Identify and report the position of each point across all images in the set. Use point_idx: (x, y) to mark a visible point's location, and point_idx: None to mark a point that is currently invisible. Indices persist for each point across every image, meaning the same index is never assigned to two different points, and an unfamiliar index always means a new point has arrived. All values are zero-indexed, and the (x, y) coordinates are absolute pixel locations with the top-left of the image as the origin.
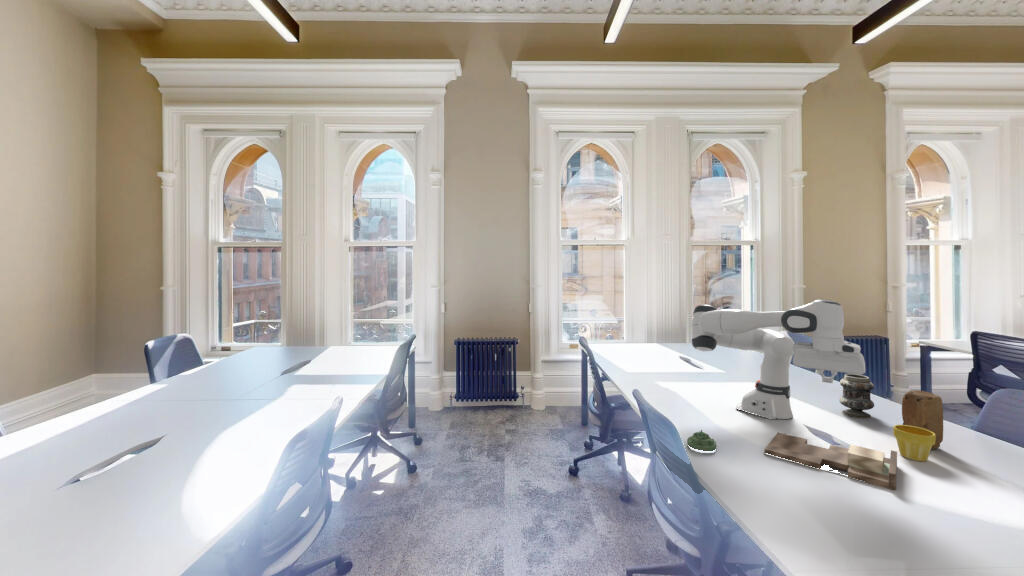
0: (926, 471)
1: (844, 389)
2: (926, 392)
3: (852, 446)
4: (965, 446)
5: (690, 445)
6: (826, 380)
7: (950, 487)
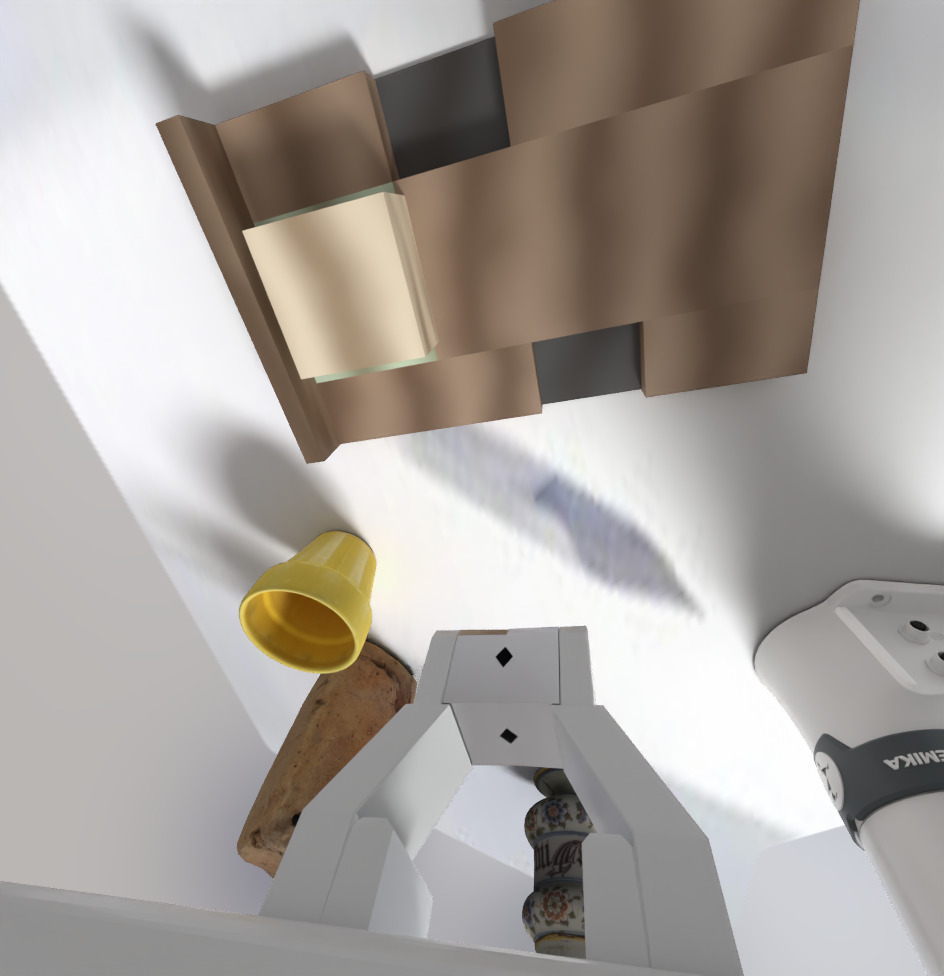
0: (273, 464)
1: None
2: None
3: (407, 331)
4: None
5: None
6: (515, 651)
7: (179, 380)
